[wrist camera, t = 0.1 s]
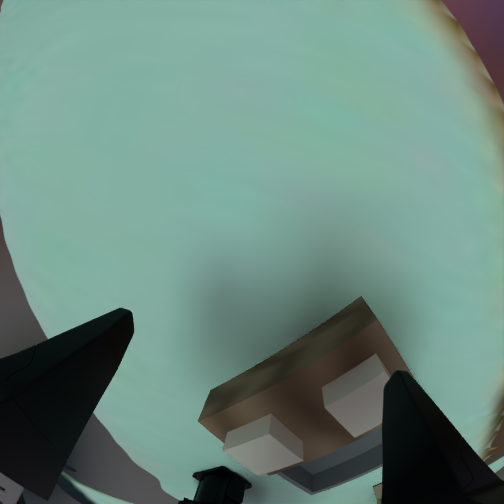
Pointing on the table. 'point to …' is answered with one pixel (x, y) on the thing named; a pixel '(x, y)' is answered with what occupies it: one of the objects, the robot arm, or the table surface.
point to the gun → (378, 493)
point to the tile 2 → (358, 396)
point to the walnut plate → (304, 382)
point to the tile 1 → (264, 446)
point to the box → (338, 465)
